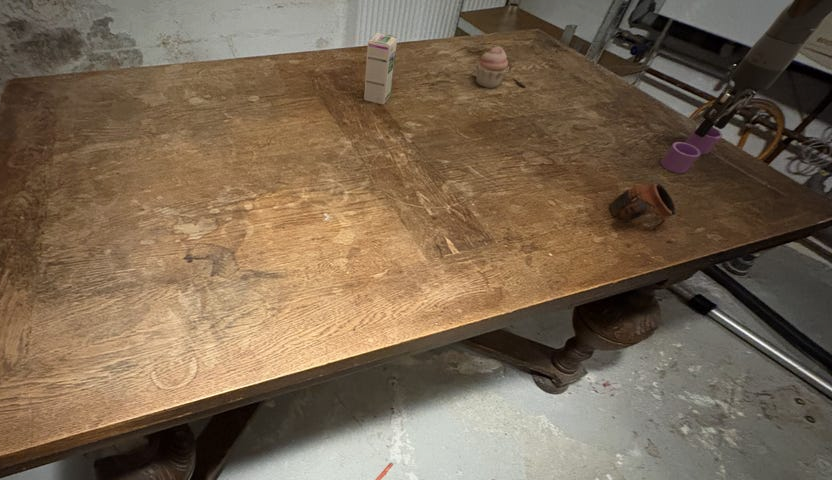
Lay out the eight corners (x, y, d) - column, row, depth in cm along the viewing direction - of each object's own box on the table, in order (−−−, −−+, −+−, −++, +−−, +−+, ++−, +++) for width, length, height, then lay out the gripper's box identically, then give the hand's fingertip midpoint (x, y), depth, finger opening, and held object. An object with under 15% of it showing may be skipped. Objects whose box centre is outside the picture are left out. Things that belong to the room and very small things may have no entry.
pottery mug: (616, 195, 88) (658, 173, 82) (639, 233, 87) (684, 214, 81) (597, 205, 80) (642, 182, 74) (623, 247, 79) (670, 227, 73)
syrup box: (384, 105, 105) (391, 45, 94) (362, 100, 107) (367, 39, 95) (390, 95, 109) (398, 36, 98) (370, 90, 110) (375, 31, 99)
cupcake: (484, 93, 113) (496, 55, 105) (464, 78, 118) (474, 41, 110) (510, 88, 116) (524, 50, 108) (489, 73, 121) (501, 37, 113)
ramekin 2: (691, 139, 104) (704, 122, 101) (713, 150, 101) (727, 134, 98) (678, 144, 102) (691, 128, 98) (700, 156, 99) (714, 140, 96)
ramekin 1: (669, 156, 98) (682, 139, 95) (691, 169, 95) (705, 152, 92) (655, 162, 96) (667, 145, 93) (677, 176, 93) (691, 159, 90)
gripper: (768, 74, 81) (707, 146, 93) (800, 62, 86) (739, 132, 99) (731, 58, 85) (677, 130, 97) (764, 48, 90) (709, 117, 103)
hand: (708, 131), depth 98 cm, fingers open, 8 cm apart
